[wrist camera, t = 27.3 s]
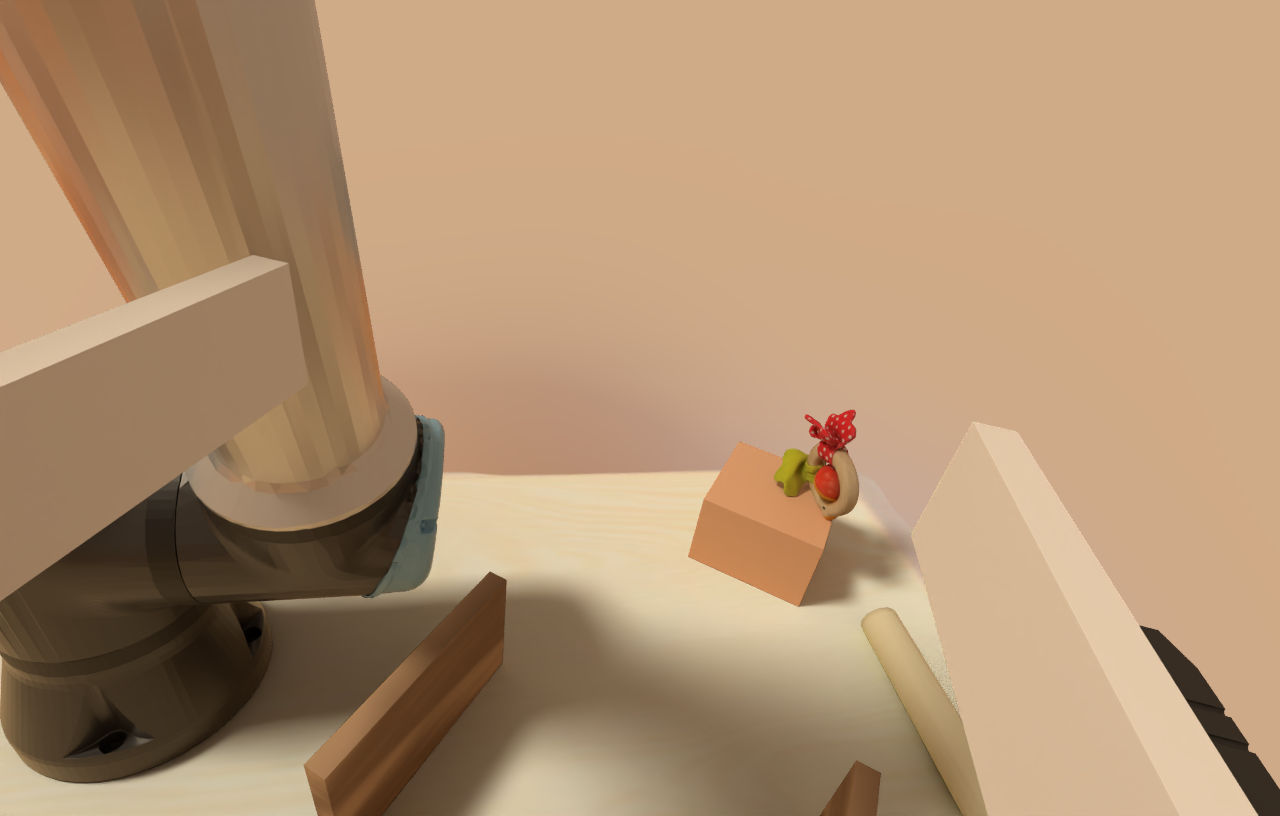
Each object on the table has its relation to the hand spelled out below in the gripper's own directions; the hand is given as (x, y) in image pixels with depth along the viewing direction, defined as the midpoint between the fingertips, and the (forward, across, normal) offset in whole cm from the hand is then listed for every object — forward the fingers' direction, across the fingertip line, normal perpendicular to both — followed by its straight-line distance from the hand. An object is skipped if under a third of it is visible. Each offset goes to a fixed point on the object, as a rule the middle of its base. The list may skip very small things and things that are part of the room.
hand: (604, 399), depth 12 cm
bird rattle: (+40, +16, -32) cm, 54 cm away
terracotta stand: (+41, +12, -40) cm, 58 cm away
